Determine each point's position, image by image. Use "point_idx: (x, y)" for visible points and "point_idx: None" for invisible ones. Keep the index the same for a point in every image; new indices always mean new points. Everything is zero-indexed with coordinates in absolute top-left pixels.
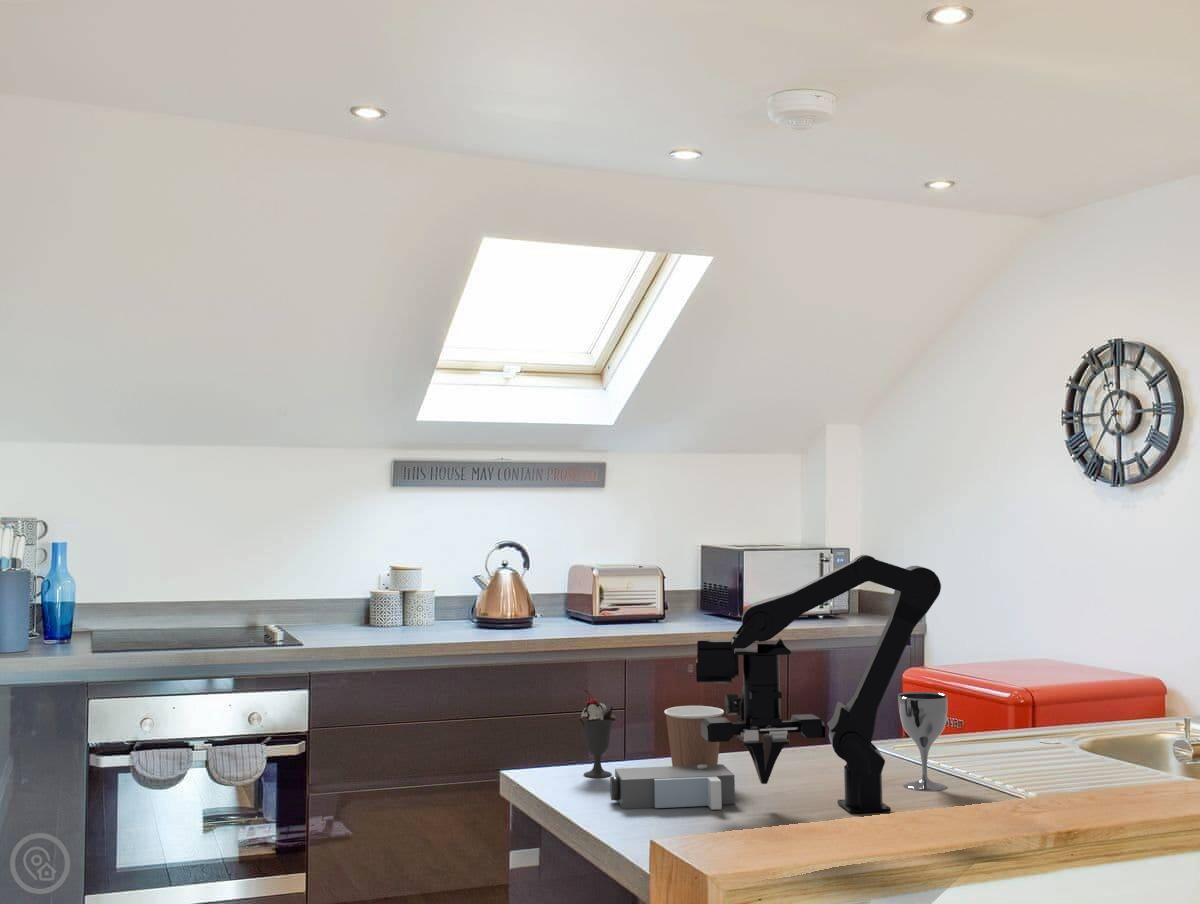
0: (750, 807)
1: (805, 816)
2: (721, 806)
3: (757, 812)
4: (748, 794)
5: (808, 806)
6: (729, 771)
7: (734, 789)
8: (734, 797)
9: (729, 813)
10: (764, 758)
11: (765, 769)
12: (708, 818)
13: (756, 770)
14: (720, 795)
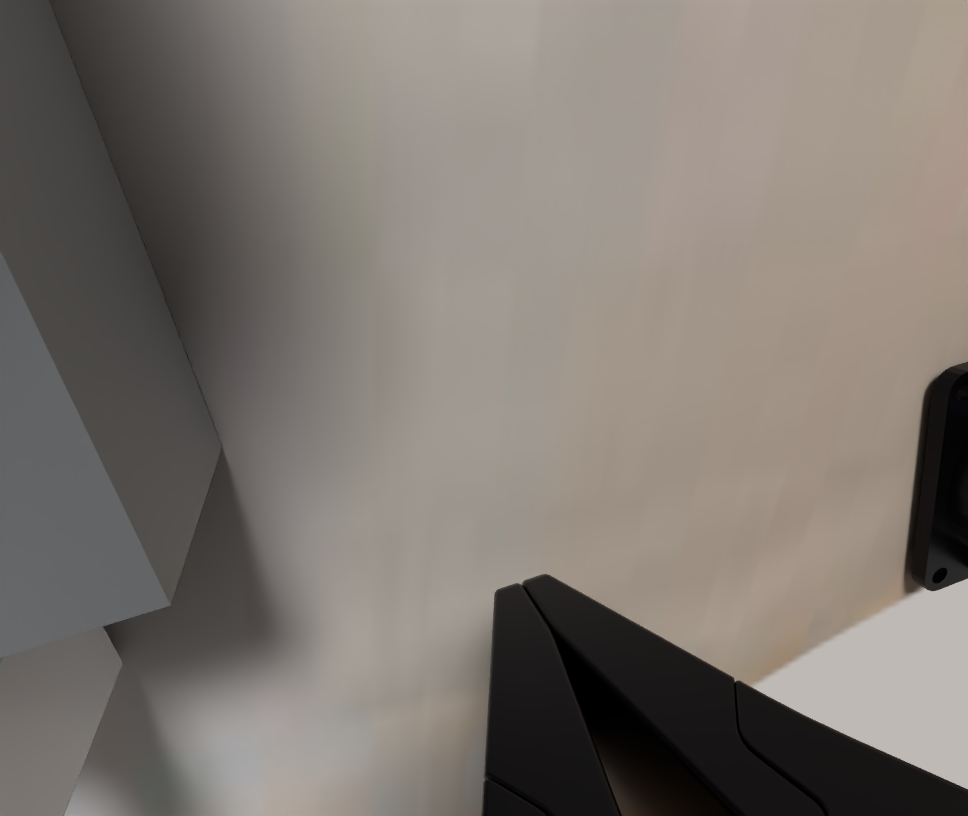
0: (361, 529)
1: None
2: (116, 679)
3: (410, 642)
4: (341, 54)
5: (754, 448)
6: (47, 395)
7: (200, 510)
8: (211, 469)
9: (203, 706)
10: (678, 807)
11: (604, 769)
12: None
13: (491, 685)
14: (77, 760)
